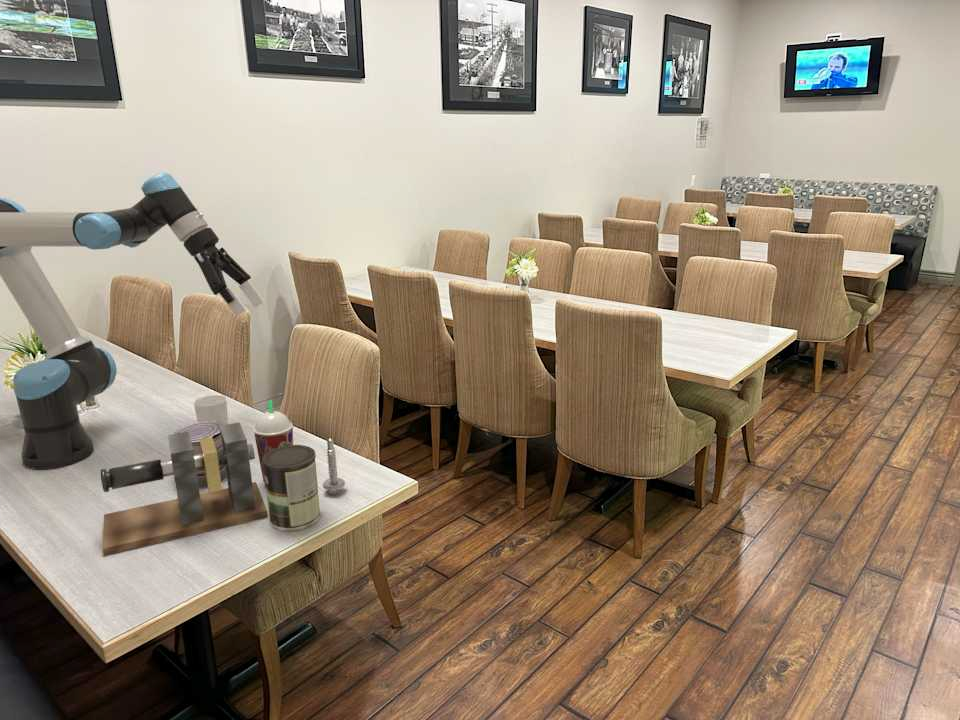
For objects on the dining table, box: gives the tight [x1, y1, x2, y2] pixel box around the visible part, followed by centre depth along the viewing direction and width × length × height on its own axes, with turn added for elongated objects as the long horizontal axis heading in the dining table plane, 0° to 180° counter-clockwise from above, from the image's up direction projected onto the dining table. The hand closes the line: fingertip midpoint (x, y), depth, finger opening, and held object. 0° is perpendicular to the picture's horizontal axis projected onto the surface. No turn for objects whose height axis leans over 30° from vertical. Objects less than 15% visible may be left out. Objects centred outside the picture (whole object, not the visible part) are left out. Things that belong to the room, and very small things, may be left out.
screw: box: [322, 437, 346, 496], centre depth 148 cm, size 13×5×5 cm
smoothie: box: [252, 399, 294, 483], centre depth 152 cm, size 8×8×20 cm
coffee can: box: [262, 444, 321, 532], centre depth 138 cm, size 10×10×14 cm
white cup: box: [193, 394, 229, 425], centre depth 179 cm, size 8×8×10 cm
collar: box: [199, 437, 223, 493], centre depth 139 cm, size 2×8×8 cm, turn 26°
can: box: [172, 420, 227, 489], centre depth 156 cm, size 11×11×12 cm
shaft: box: [100, 443, 256, 493], centre depth 137 cm, size 28×4×4 cm, turn 116°
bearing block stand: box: [101, 421, 269, 557], centre depth 138 cm, size 30×14×17 cm, turn 116°
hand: (251, 309), depth 166 cm, fingers open, 13 cm apart
